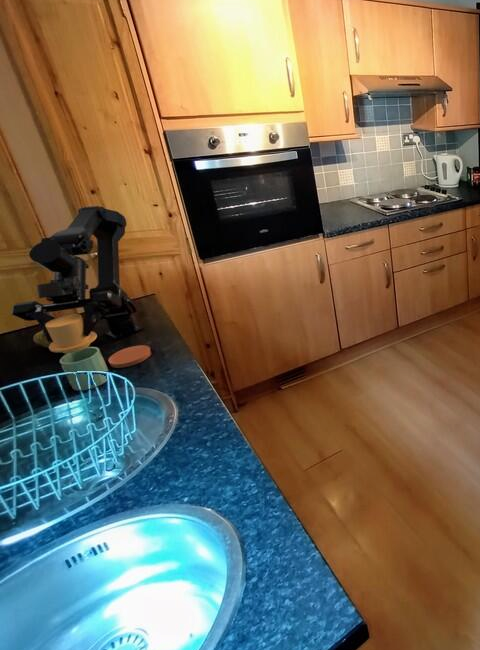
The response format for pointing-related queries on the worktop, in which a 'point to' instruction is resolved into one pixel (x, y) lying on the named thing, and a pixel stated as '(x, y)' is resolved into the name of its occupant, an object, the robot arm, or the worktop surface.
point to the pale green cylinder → (84, 367)
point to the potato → (41, 339)
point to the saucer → (129, 356)
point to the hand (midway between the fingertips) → (68, 339)
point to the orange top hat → (68, 334)
